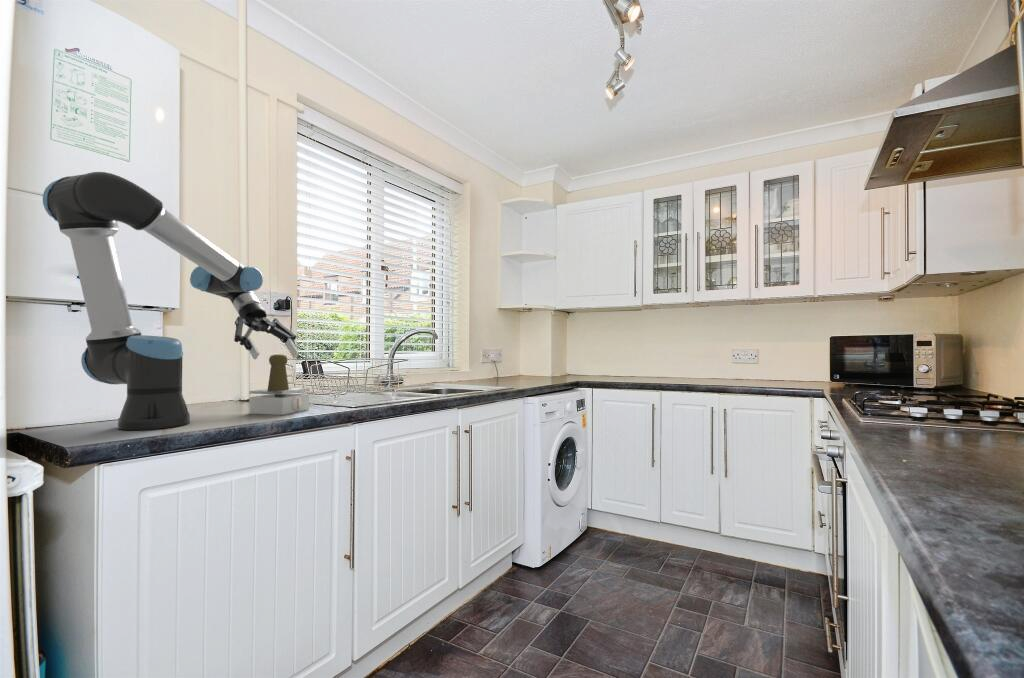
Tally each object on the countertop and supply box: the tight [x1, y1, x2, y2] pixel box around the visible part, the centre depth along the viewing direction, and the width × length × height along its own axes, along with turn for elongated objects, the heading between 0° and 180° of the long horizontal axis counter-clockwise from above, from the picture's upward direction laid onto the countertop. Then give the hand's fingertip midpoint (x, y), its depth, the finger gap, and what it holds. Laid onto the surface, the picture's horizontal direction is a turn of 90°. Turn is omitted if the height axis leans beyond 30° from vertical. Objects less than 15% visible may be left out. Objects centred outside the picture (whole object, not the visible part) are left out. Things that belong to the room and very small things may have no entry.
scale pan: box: [248, 387, 310, 395], centre depth 153 cm, size 12×12×1 cm
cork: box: [267, 353, 290, 391], centre depth 152 cm, size 6×6×11 cm
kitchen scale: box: [248, 393, 310, 416], centre depth 152 cm, size 12×13×6 cm
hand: (277, 355), depth 155 cm, fingers open, 13 cm apart
